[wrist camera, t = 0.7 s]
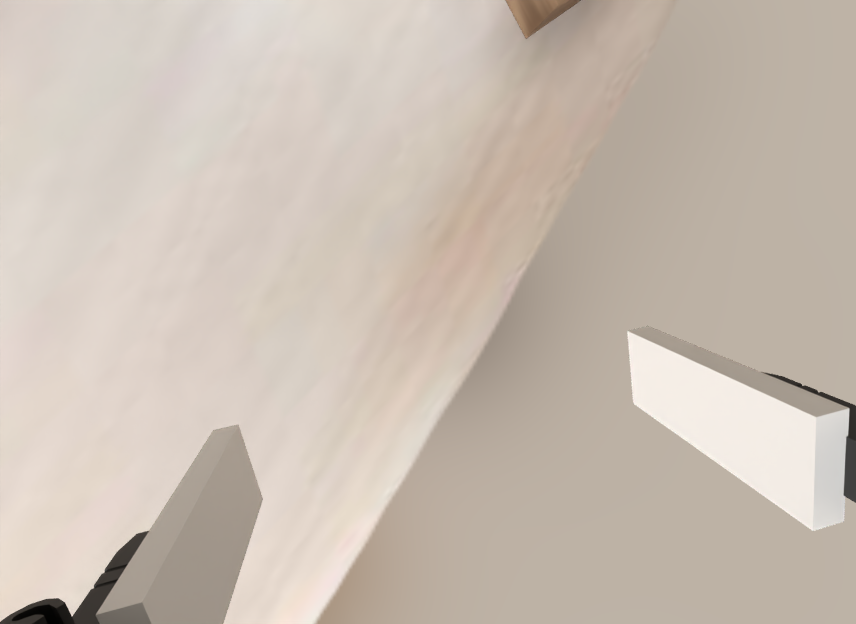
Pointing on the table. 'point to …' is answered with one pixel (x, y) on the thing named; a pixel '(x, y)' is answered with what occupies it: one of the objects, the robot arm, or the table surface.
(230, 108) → the table surface
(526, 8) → the brown square open box
